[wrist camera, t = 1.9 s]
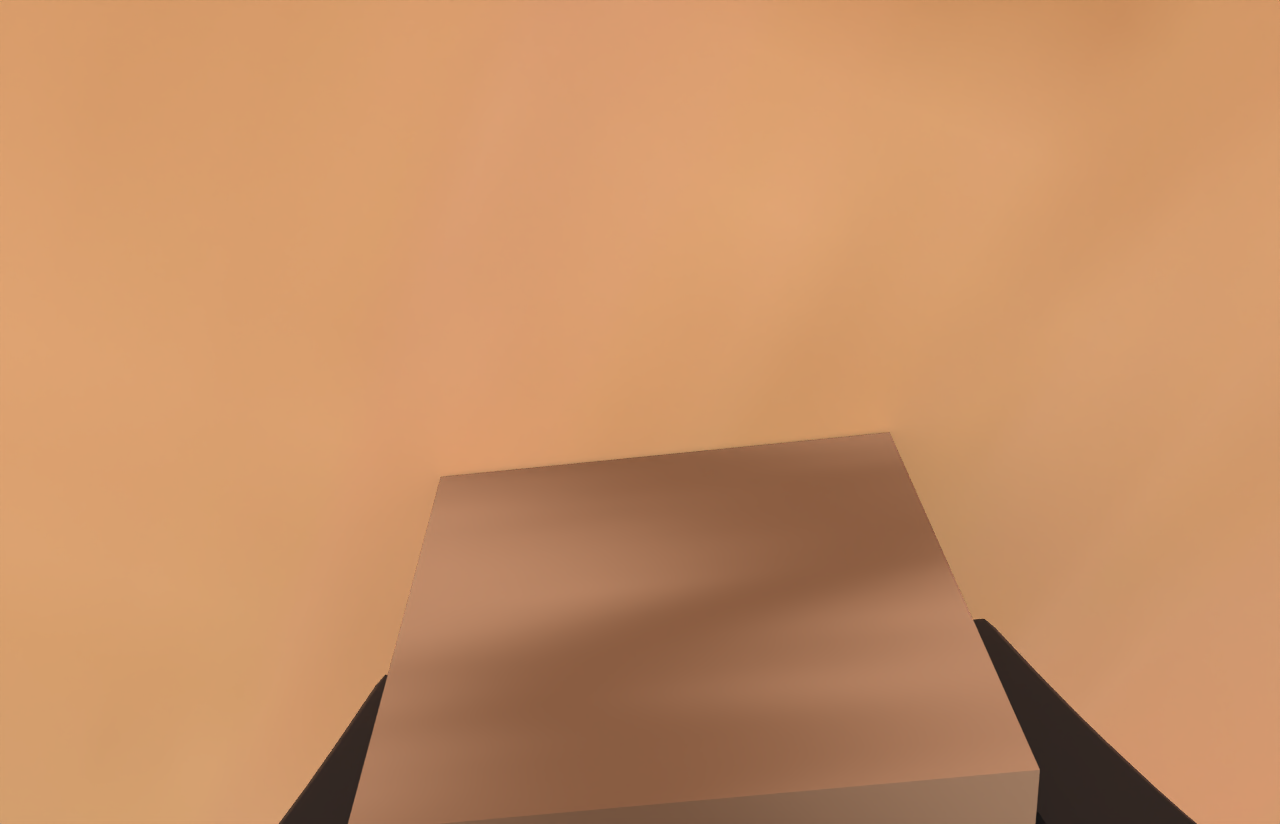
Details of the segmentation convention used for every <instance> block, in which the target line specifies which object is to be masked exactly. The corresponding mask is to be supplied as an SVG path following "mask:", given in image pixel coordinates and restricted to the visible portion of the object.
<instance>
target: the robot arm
mask: <svg viewBox="0 0 1280 824" xmlns="http://www.w3.org/2000/svg"><path fill="white" fill-rule="evenodd" d="M973 621H974V623H975V625H976V628H977V630H978V632H979V634H980V637H981V639H982V641H983V643H984V646H985V648H986V650H987V652H988V655H989V657H990V659H991V661H992V664H993V666H994V668H995V670H996V672H997V675H998V677H999V679H1000V681H1001V684H1002V686H1003V688H1004V690H1005V693H1006V695H1007V697H1008V699H1009V702H1010V704H1011V706H1012V708H1013V711H1014V713H1015V715H1016V717H1017V720H1018V722H1019V724H1020V726H1021V729H1022V731H1023V733H1024V735H1025V738H1026V740H1027V742H1028V744H1029V747H1030V749H1031V751H1032V753H1033V756H1034V758H1035V760H1036V762H1037V765H1038V767H1039V769H1040V774H1039V787H1038V799H1037V811H1036V823H1035V824H1196V823H1195V822H1194V821H1193V820H1192V819H1191V818H1189V817H1188V816H1187V815H1186V814H1185V813H1184V812H1182V811H1181V810H1180V809H1179V808H1178V807H1177V806H1176V805H1175V804H1173V803H1172V802H1171V801H1170V800H1169V799H1168V798H1167V797H1166V796H1164V795H1163V794H1162V793H1161V792H1160V791H1159V790H1158V789H1157V788H1155V787H1154V786H1153V785H1152V784H1151V783H1150V782H1149V781H1148V780H1147V779H1146V778H1145V777H1144V776H1143V775H1141V774H1140V773H1139V772H1138V771H1137V770H1136V769H1135V768H1134V767H1133V766H1132V765H1131V764H1130V763H1129V762H1128V761H1126V760H1125V759H1124V758H1123V757H1122V756H1121V755H1120V754H1119V753H1118V752H1117V751H1116V750H1115V749H1114V748H1113V747H1112V746H1110V745H1109V744H1108V743H1107V742H1106V741H1105V740H1104V739H1103V738H1102V737H1101V736H1100V735H1099V734H1098V733H1097V732H1096V731H1095V730H1094V729H1093V728H1092V727H1091V726H1090V725H1089V724H1088V723H1087V722H1085V721H1084V720H1083V719H1082V718H1081V717H1080V716H1079V715H1078V714H1077V713H1076V712H1075V711H1074V710H1073V709H1072V708H1071V707H1070V706H1069V705H1068V704H1067V703H1066V702H1065V700H1064V699H1063V698H1062V697H1061V696H1060V695H1059V694H1058V693H1057V692H1056V691H1055V690H1054V689H1053V688H1052V687H1051V686H1050V685H1049V684H1048V683H1047V682H1046V681H1045V680H1044V679H1043V678H1042V677H1041V676H1040V675H1039V674H1038V673H1037V672H1036V671H1035V670H1034V669H1033V668H1032V667H1031V666H1030V664H1029V663H1028V662H1027V661H1026V660H1025V659H1024V658H1023V657H1022V656H1021V655H1020V654H1019V653H1018V652H1017V651H1016V650H1015V649H1014V648H1013V646H1012V645H1011V644H1010V643H1009V642H1008V641H1007V640H1006V639H1005V638H1004V637H1003V636H1002V635H1001V634H1000V633H999V632H998V630H997V629H996V628H995V627H993V626H992V625H991V624H990V623H989V622H987V621H986V620H985V619H977V620H973ZM387 676H388V675H385V676H384V677H383V678H382V679H381V680H380V681H379V683H378V684H377V685H376V686H375V688H374V689H373V691H372V692H371V693H370V695H369V696H368V698H367V699H366V701H365V702H364V704H363V705H362V707H361V708H360V710H359V711H358V713H357V714H356V716H355V717H354V719H353V720H352V721H351V723H350V724H349V726H348V727H347V729H346V730H345V732H344V733H343V735H342V736H341V738H340V739H339V741H338V742H337V743H336V745H335V746H334V748H333V749H332V751H331V752H330V754H329V755H328V756H327V758H326V759H325V761H324V762H323V764H322V765H321V766H320V768H319V769H318V771H317V772H316V774H315V775H314V776H313V778H312V779H311V781H310V782H309V784H308V785H307V786H306V788H305V789H304V790H303V792H302V793H301V795H300V796H299V797H298V799H297V800H296V801H295V803H294V804H293V805H292V807H291V808H290V809H289V811H288V812H287V813H286V815H285V816H284V818H283V819H282V820H281V822H280V823H279V824H348V822H349V818H350V814H351V811H352V807H353V803H354V799H355V796H356V792H357V788H358V784H359V781H360V777H361V773H362V769H363V766H364V762H365V758H366V755H367V751H368V747H369V743H370V740H371V736H372V732H373V728H374V725H375V721H376V717H377V713H378V710H379V706H380V702H381V698H382V695H383V691H384V687H385V683H386V680H387Z"/></svg>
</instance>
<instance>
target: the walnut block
mask: <svg viewBox="0 0 1280 824" xmlns="http://www.w3.org/2000/svg"><path fill="white" fill-rule="evenodd" d="M1039 774H1040V769H1039V767H1038V765H1037V762H1036V760H1035V758H1034V756H1033V753H1032V751H1031V749H1030V747H1029V744H1028V742H1027V740H1026V738H1025V735H1024V733H1023V731H1022V729H1021V726H1020V724H1019V722H1018V720H1017V717H1016V715H1015V713H1014V711H1013V708H1012V706H1011V704H1010V702H1009V699H1008V697H1007V695H1006V693H1005V690H1004V688H1003V686H1002V684H1001V681H1000V679H999V677H998V675H997V672H996V670H995V668H994V666H993V664H992V661H991V659H990V657H989V655H988V652H987V650H986V648H985V646H984V643H983V641H982V639H981V637H980V634H979V632H978V630H977V628H976V625H975V623H974V621H973V619H972V616H971V614H970V612H969V610H968V607H967V605H966V603H965V601H964V598H963V596H962V594H961V592H960V589H959V587H958V585H957V583H956V580H955V578H954V576H953V574H952V571H951V569H950V567H949V565H948V563H947V560H946V558H945V556H944V554H943V551H942V549H941V547H940V545H939V542H938V540H937V538H936V536H935V533H934V531H933V529H932V527H931V524H930V522H929V520H928V518H927V515H926V513H925V511H924V509H923V506H922V504H921V502H920V500H919V497H918V495H917V493H916V491H915V488H914V486H913V484H912V482H911V479H910V477H909V475H908V473H907V470H906V468H905V466H904V464H903V461H902V459H901V457H900V455H899V453H898V450H897V448H896V446H895V444H894V441H893V439H892V437H891V435H890V432H888V433H878V434H868V435H858V436H848V437H838V438H828V439H818V440H808V441H798V442H788V443H778V444H768V445H758V446H748V447H738V448H728V449H717V450H707V451H697V452H687V453H677V454H667V455H657V456H647V457H637V458H627V459H617V460H607V461H597V462H587V463H577V464H567V465H557V466H546V467H536V468H526V469H516V470H506V471H496V472H486V473H476V474H466V475H456V476H446V477H441V478H440V482H439V485H438V489H437V493H436V496H435V500H434V504H433V508H432V511H431V515H430V519H429V523H428V526H427V530H426V534H425V538H424V541H423V545H422V549H421V553H420V556H419V560H418V564H417V568H416V571H415V575H414V579H413V583H412V586H411V590H410V594H409V597H408V601H407V605H406V609H405V612H404V616H403V620H402V624H401V627H400V631H399V635H398V639H397V642H396V646H395V650H394V654H393V657H392V661H391V665H390V669H389V672H388V676H387V680H386V683H385V687H384V691H383V695H382V698H381V702H380V706H379V710H378V713H377V717H376V721H375V725H374V728H373V732H372V736H371V740H370V743H369V747H368V751H367V755H366V758H365V762H364V766H363V769H362V773H361V777H360V781H359V784H358V788H357V792H356V796H355V799H354V803H353V807H352V811H351V814H350V818H349V822H348V824H1035V823H1036V811H1037V799H1038V787H1039Z"/></svg>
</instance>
